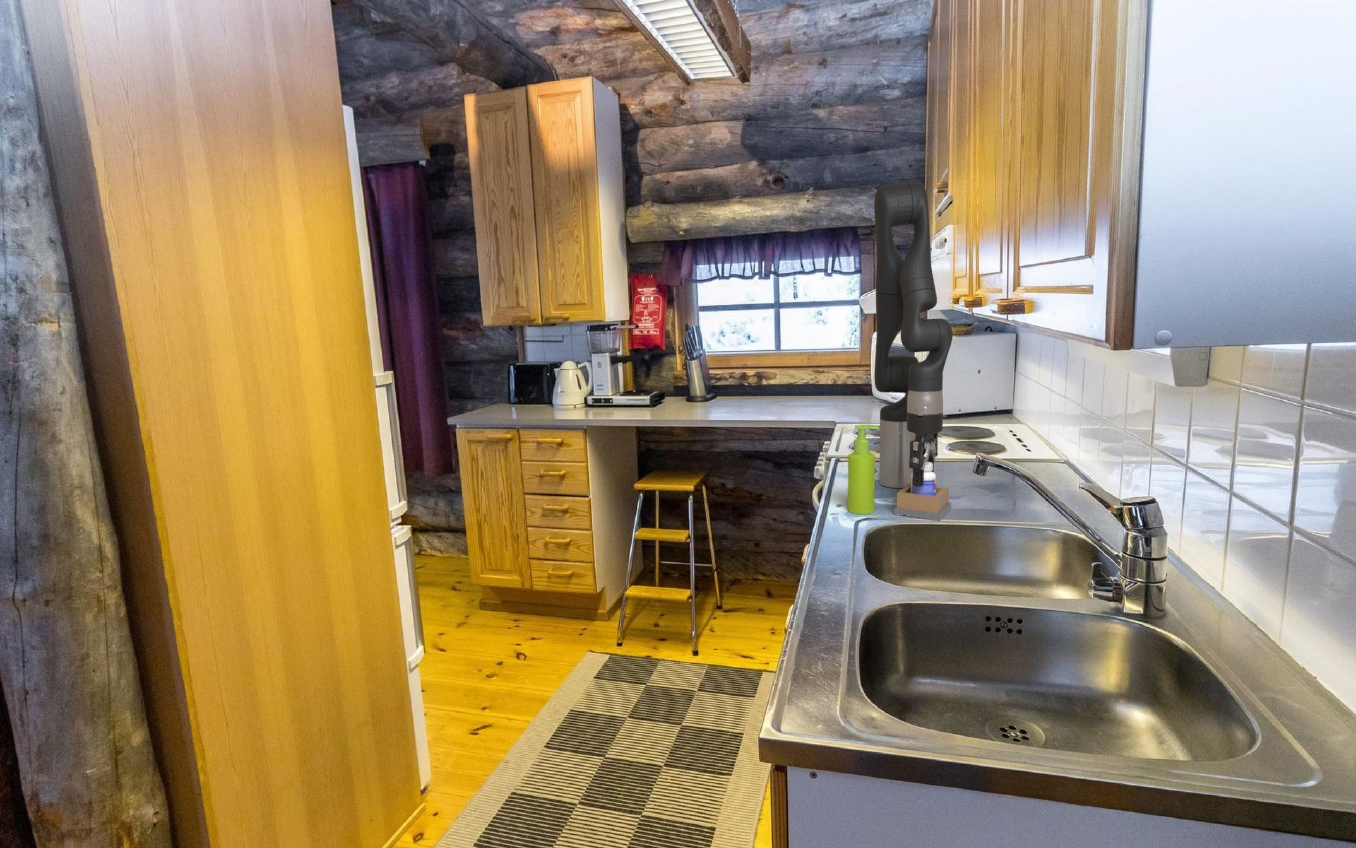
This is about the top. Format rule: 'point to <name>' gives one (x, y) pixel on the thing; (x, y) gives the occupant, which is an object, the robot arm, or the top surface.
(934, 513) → the box
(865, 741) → the top surface
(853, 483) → the soap dispenser
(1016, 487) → the top surface
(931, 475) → the pill bottle
